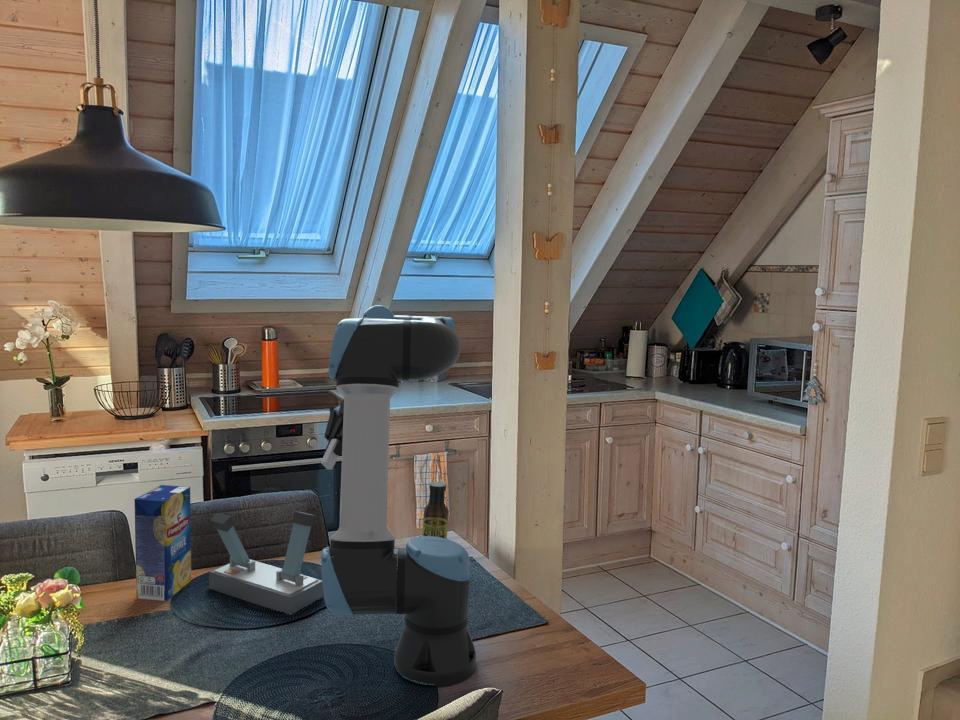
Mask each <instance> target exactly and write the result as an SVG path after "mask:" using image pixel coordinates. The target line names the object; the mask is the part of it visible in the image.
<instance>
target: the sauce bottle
mask: <svg viewBox="0 0 960 720" xmlns="http://www.w3.org/2000/svg"><path fill="white" fill-rule="evenodd" d="M428 490H429V499H428V503H427V505H426V506H425V508H424V510H423V518H422V532H421V533H422V534H421V536H434V537H440V538H445V539H448V525H449V510H448V507H447V505H446V504H445V501H446V500H445V495H446V493H445V492H446V490H447V485H446V483H444V482H442V481H434V482H430V484H429V489H428Z"/></svg>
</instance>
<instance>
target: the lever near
mask: <svg viewBox="0 0 960 720" xmlns="http://www.w3.org/2000/svg"><path fill="white" fill-rule="evenodd" d="M315 519H316V515H315V514H311V513H307V512H304V511H303V512H302V511H294V512H293V516H292V521H291V523H292V524H293V525H292V528H291V533H290V536H289V541H288V545H287V549H286V554H285V557H284V562H283V565H282V566H283V567H282V568H281V569H282V573H281V578H282V579H285V580H288V581H292V582H295V577H296V576H298V575H300V574H301V570H302V565H303V561H304V559H305V558H304V557H305V553H306V550H307V544H308V541H309V536H310V531H311V528H312V527H314V523H315Z"/></svg>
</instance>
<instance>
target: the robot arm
mask: <svg viewBox="0 0 960 720" xmlns="http://www.w3.org/2000/svg"><path fill="white" fill-rule="evenodd" d="M455 327H456V326H455V320H454V318H452V317H448V316H442V315H441V316H439V315H438V316H424V315H423V316H419V315H398V314H397V315H396V314H394V313H393V311H392V310H391V308H389V307H386V306H384V305H380V304H379V305H378V304H377V305H373V306H370V307H369V308H367V309H366V310H365V311H364V312H363V315H362V317H361V318H359V317H358V318H343V319H342V320H340V321H339V322H338V323H337V325H336V327H335V329H334V333H333V338H332V343H331V347H330V353H329V361H328V362H329V365H328V377H329V379H331V380H334V381H336V382H335V383H336V385H335V388H336V390H337V391H338V393H340V394H341V395H342V397H343V399H342V400H341V401H340V403H339V405H338V406H330V407H329V408H328V409H329V416H328V417H329V418H328V421H327V424H326V428H325V432H324V438H325V440H327V441H328V444H327V446H326V447H325V449H324V454H323V457H322V459H321V461H320V464H321V465H322V466H323V467H324V468H325V469H326V470H333V469H334V466H335V465H336V462H337V460H338V458H339V456H341V473H340V475H341V476H340V477H341V478H340V499H339V501H340V503H339V526H338V528H337V530H336V532H335V533H334V534H332V535H331V537H330V538H329V539H330V541H329V542H330V543H329V544H330V545H329V546H326V547H324V548H323V549H322V550H321V556H320V559H321V561H320V563H321V566H320V567H321V580H322V584H323V598H324V603H325V606H326V608H327V610H328V611H329V612H330V613H332V614H334V615H349V616H351V617H355V616H357V615H404V625H403V628H402V631H401V634H400V636H399V639H398V642H397V645H396V648H395V650H394V653H393V656H394V657H393V666H394V665H395V667H396V669H397V670H398V671H399V672H400V673H401V674H402V675H403V676H405V677H407V678H409V679H411V680H416V681H418V682H423V683H427V684H429V683H430V684H434V685H436V686H435V687H443V686H445V687H446V686H451V685H455V684H458V683H461V682H463V681H465V680H467V679H468V678H470V677H471V676H472V675H473V673H474V672H475V670H476V668H477V665H476V663H477V654H476V649H475V645H474V641H473V639H472V635H471V631H470V628H469V601H470V600H469V598H470V597H469V594H470V593H469V592H470V579H471V577H472V576H471V575H472V573H471V570H470V567H471V565H470V564H471V562H470V561H471V559H470V555H469V553H468V551H467V550H466V548H465V547H464V546H462V545H461V544H459V543H457V542H455V541H453V540H451V539H448V538H447V539H445V538H440V537H434V536H422V535H421V536H420V535H419V536H415V537H412V538H410V539H409V540H408V541H407V543H406V544H405V547H396V545H395V542H396V541H395V540H396V537H395V536H394V535H393V534H392V533H391V531H389V530H388V494H389V491H388V489H389V488H388V487H389V486H388V485H389V484H388V483H389V453H390V451H389V449H390V421H391V420H390V416H391V415H390V414H391V398H392V397H393V396H394V395H395V394H396V393H397V392H398V391H399V382H400V381H407V382H409V381H423V380H428V379H431V378H435V377H437V376H439V375H441V374H443V373H445V372H447V371H449V370H450V369H451V368H452V367H453V366H454V365H455V364H456V363H457V361H458V359H459V357H460V354H461V349H462V348H461V347H462V345H461V340H460V338H459V335H458V333H457V332H456V330H455Z"/></svg>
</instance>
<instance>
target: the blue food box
mask: <svg viewBox="0 0 960 720" xmlns="http://www.w3.org/2000/svg"><path fill="white" fill-rule="evenodd" d="M133 500H134V536H135V538H134V541H135V542H134V546H135V591H136V593H135V595H136V599H140V600H153V601H161V602H162V601H163V602H167V601H169V599H171V598H172V597H173V596H174V595H175V594H177V593H178V592H179V591H181V590H182V589H183V588H184V587H186V586H187V585H188V584H189V583H191V581H192V547H191V546H192V542H191V541H192V536H191V535H192V533H191V530H192V529H191V528H192V527H191V522H192V521H191V520H192V519H191V516H192V515H191V486H181V485H180V486H179V485H168V484H166V485H165V484H161V485H159V486H157V487H155V488H153V489H151V490H149V491H147V492H146V493H144V494H141V495H140V496H138V497H136V498H134V499H133Z"/></svg>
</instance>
